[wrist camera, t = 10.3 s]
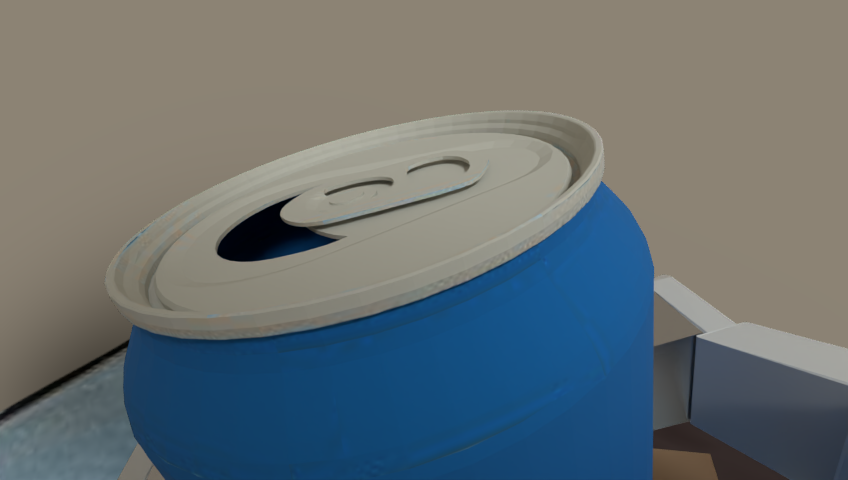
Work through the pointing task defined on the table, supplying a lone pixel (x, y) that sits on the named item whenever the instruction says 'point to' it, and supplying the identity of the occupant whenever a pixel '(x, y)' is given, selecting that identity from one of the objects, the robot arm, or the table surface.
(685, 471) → the base block
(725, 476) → the table surface
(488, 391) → the beverage can
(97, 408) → the table surface
